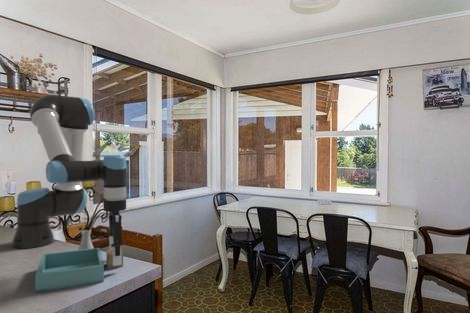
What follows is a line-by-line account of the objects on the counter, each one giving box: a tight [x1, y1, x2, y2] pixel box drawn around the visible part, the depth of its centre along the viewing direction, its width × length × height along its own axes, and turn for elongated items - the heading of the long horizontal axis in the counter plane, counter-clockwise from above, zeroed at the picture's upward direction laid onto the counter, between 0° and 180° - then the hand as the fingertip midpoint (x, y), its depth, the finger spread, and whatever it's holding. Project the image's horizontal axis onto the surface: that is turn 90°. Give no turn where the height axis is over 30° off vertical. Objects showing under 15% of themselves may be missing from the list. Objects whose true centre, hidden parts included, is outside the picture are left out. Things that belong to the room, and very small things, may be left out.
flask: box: [77, 229, 95, 250], centre depth 119 cm, size 7×7×10 cm
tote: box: [34, 247, 105, 293], centre depth 103 cm, size 20×18×5 cm
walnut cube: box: [106, 249, 124, 269], centre depth 112 cm, size 5×5×5 cm
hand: (115, 259), depth 112 cm, fingers open, 13 cm apart
